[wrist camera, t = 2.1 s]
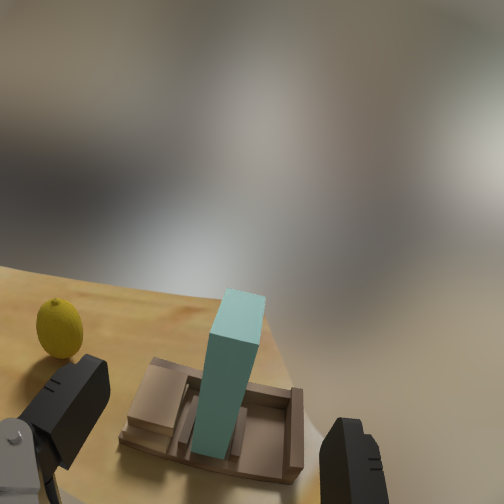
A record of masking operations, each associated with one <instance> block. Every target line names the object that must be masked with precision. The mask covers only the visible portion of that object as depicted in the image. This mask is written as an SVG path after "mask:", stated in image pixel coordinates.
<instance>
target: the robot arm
mask: <svg viewBox="0 0 504 504" xmlns="http://www.w3.org/2000/svg"><path fill="white" fill-rule="evenodd" d="M109 397H110V383H109V375H108V366H107V362H106V361H104V360H101V359H99V358H96V357H94V356H91V355H89V354H85V355H84V356H83V357H82V358H81V359H80V361H79V362H78V363H77V364H73V363H71V362H70V363H68V364H67V365H65V366H63V367H61V368H59V369H58V370H57V371H56V372H55V374H54V375H53V376H52V377H51V379H50V380H49V381H48V382H47V383H46V384H45V386H44V388H42V389H41V390H40V392H39V393H38V394H37V395H36V396H35V398H34V399H33V400H32V401H31V403H30V404H29V405H28V406H27V408H26V409H25V410H24V411H23V413H22V414H21V415H20V416H19V417H18V418H7V419H4V420H2V421H1V422H0V504H62V502H61V498H60V494H59V490H58V486H57V482H56V477H55V473H54V472H55V470H56V469H57V467H58V465H59V466H60V467H62V468H64V469H66V470H69V468H70V466H71V465H72V463H73V461H74V459H75V458H76V456H77V454H78V453H79V451H80V449H81V447H82V446H83V444H84V442H85V441H86V439H87V437H88V435H89V434H90V432H91V430H92V429H93V427H94V425H95V424H96V422H97V420H98V419H99V417H100V415H101V414H102V412H103V410H104V409H105V407H106V405H107V403H108V401H109ZM319 464H320V495H321V504H389V499H388V494H387V488H386V482H385V477H384V472H383V471H382V469H383V466H382V462H381V456H380V452H379V447H378V445H377V443H376V442H375V440H374V439H373V437H372V436H371V435H370V434H364V432H363V426H362V422H361V420H360V419H350V418H341V417H340V418H337V420H336V421H335V423H334V424H333V426H332V428H331V430H330V431H329V433H328V434H327V436H326V437H325V439H324V440H323V442H322V445H321V448H320V453H319Z"/></svg>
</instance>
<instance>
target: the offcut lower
mask: <svg viewBox="0 0 504 504" xmlns="http://www.w3.org/2000/svg"><path fill="white" fill-rule="evenodd" d="M188 387H189V384H187V386H186V389H185V393H184V396H183V400H182V404H181V407H180V411H179V415H178V418H177V421H178V419H179V416H180V413H181V411H182V408H183V405H184V402H185V400H186V397H187V394H188ZM176 424H177V422H176ZM175 427H176V426H175ZM122 434H123V439H124V440H127V441H130V442H132V443H135V444H138V445H141V446H144V447H147V448H150V449H153V450H156V451H159V452H162V453H165V454H166V451H167V449H168V446H169V443H170V440H171V438H172V437H169V436H165V435H161V434H158V433H154V432H150V431H147V430H143V429H140V428H136V427H133V426H130V425H128V419H127V421H126V423H125V425H124V427H123V429H122Z"/></svg>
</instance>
